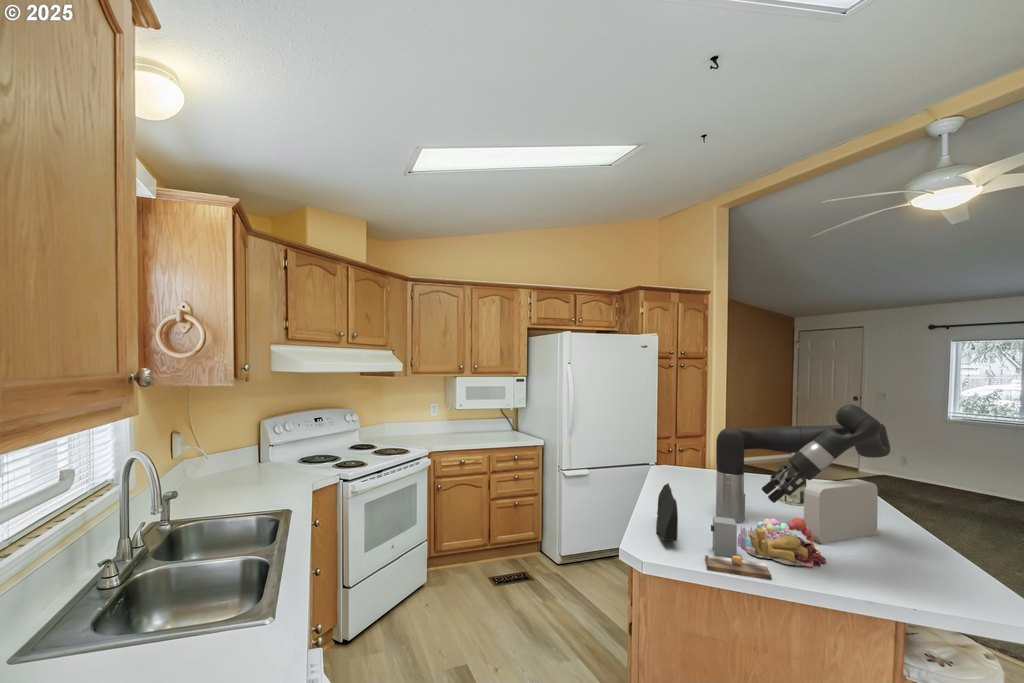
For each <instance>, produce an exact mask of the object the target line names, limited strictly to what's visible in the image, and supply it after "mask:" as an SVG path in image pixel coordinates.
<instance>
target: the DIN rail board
mask: <svg viewBox="0 0 1024 683" xmlns="http://www.w3.org/2000/svg"><path fill="white" fill-rule="evenodd" d="M704 561H705V562H704V563H705V565H706V570H707V571H711V572H719V573H725V574H731V575H738V576H744V577H751V578H757V579H763V580H769V581H772V574H771V572H770V570H769V567H768V566H767V564H766V563H765V562H758V561H751V560H745V559H744V560H743V559H741V562H736V561H733V558H727V557H720V556H715V555H711V554H708V555H707V554H706V555H704Z"/></svg>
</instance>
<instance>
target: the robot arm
mask: <svg viewBox="0 0 1024 683" xmlns="http://www.w3.org/2000/svg"><path fill="white" fill-rule="evenodd" d="M835 421H836V423H837V424H833V425H829V424H828V425H786V426H774V427H766V428H739V427H726V428H723V429H721V430H720V431H719V433H718V435H717V437H716V441H715V442H716V448H715V449H716V450H715V452H716V453H715V454H716V456H715V458H716V460H715V461H716V462H715V464H716V491H715V492H716V494H715V495H716V496H715V498H716V499H715V502H716V503H715V517H723V518H731V519H734V520H735V522H736V524H738V523H743V522H744V520H746V494H745V490H744V489H745V450H746V451H747V450H767V451H773V452H779V453H790V454H791V453H792V454H793V453H794V454H793V455H792V456H791V457H789V458H788V459H787V461H788V463H789V465H791V467H787V466H786V465H787V464H784V465H785V466H783V467H782V468H781V469H780V470H777V471H776V472H774V473H773V474H772V475H771V476H770V481H768V482H766V483H765V485H763V486H762V487H761V491H763V493H765V494H766V495H768V496H767V499H768V500H770V502H772V503H776V502H777V501H779V499H780V498H781V497H782V496H784V495H788V496H790V495H791V494H792V493H793V492H795V491H796V490H797V489H798V488H799V487H801V486H802V485H803V484H804V483H805V481H803V480H802V478H803V477H805V478H806V481H811V480H813V479H814V478H815V477H816V476H818V475H819V474H821V472H824V470H825V469H827V468H828V467H829V466H830V465H831V464H832V463H833V462H834V461H835V460H837V458H838V457H840V456H841V455H842V454H843V453H845V452H846V451H848V450H849V449H851V448H853V447H854V448H855V451H856V452H857V454H858V455H859V456H860V457H865V458H870V459H871V458H872V459H873V458H874V459H875V458H876V459H877V458H883V457H887V456H889V454H890V453H891V444H890V440H889V436H888V432H887V428H886V425H884V424H882V423H881V422H880V421H879V420H878V419H876V418H875V417H874V416H872V415H871V414H870V413H868V412H867V411H866V410H864V409H863V408H861V407H860V406H858V405H856V404H844V405H843V406H841V407H840V408H839V409H838V410H837V411H836V413H835ZM779 485H780V486H779ZM778 486H779V487H778ZM777 487H778V488H777ZM778 489H779V490H778Z"/></svg>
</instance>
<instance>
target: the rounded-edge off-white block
mask: <svg viewBox="0 0 1024 683" xmlns="http://www.w3.org/2000/svg"><path fill="white" fill-rule="evenodd" d="M878 495H879V494H878V486H877V485H876V483H874V482H870V481H866V480H863V479H858V478H856V479H855V478H854V479H853V478H852V479H846V480H844V479H843V480H836V481H826V482H817V483H816V482H815V483H809V484H806V488H805V491H804V505H803V520H804V521H805V523H806V528H809V529H810V530H811V536H813V538H814V541H813V542H817V543H820V544H823V545H826V544H833V543H837V542H843V541H849V540H855V539H860V538H866V537H871V536H874V535H875V534H876V532H877V530H878V504H879V503H878V498H879V497H878ZM805 537H806V538H807V536H805Z"/></svg>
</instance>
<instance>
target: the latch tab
mask: <svg viewBox="0 0 1024 683" xmlns="http://www.w3.org/2000/svg"><path fill="white" fill-rule="evenodd" d="M732 559H733V561H736V562H741V561H742V558H741V556H738V555H737V556H733V558H732Z"/></svg>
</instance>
